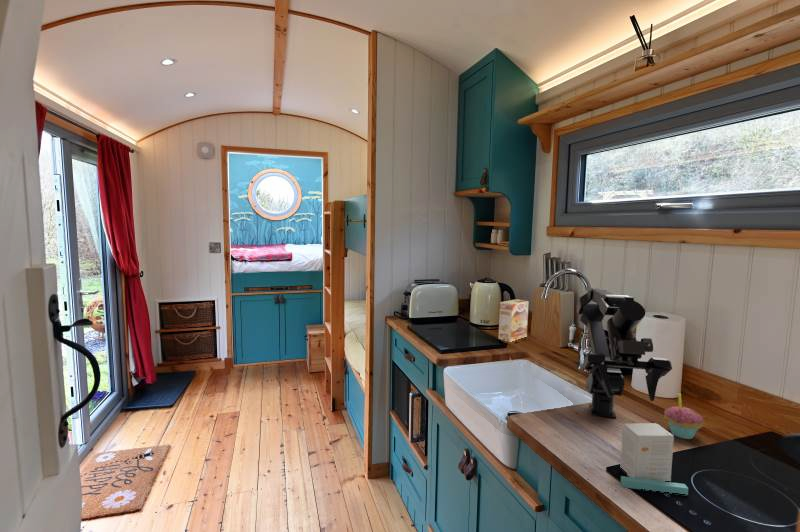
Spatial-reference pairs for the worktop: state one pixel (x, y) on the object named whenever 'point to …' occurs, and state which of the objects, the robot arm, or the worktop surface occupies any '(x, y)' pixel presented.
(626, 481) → the teal batten
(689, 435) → the cupcake
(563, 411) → the worktop surface
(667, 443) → the small box
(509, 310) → the coffeecake box
